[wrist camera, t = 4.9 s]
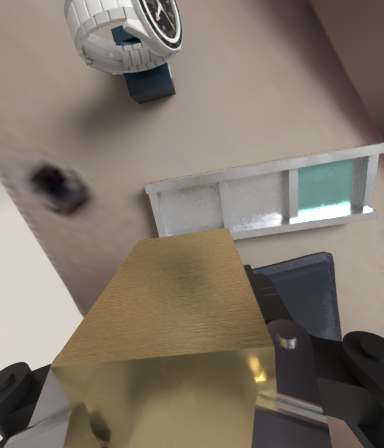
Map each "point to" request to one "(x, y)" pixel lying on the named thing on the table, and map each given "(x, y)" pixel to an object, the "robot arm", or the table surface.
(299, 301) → the dark blue notebook
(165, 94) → the watch
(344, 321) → the table surface
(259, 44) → the table surface
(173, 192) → the tray with compartments
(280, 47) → the table surface
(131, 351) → the tan block
